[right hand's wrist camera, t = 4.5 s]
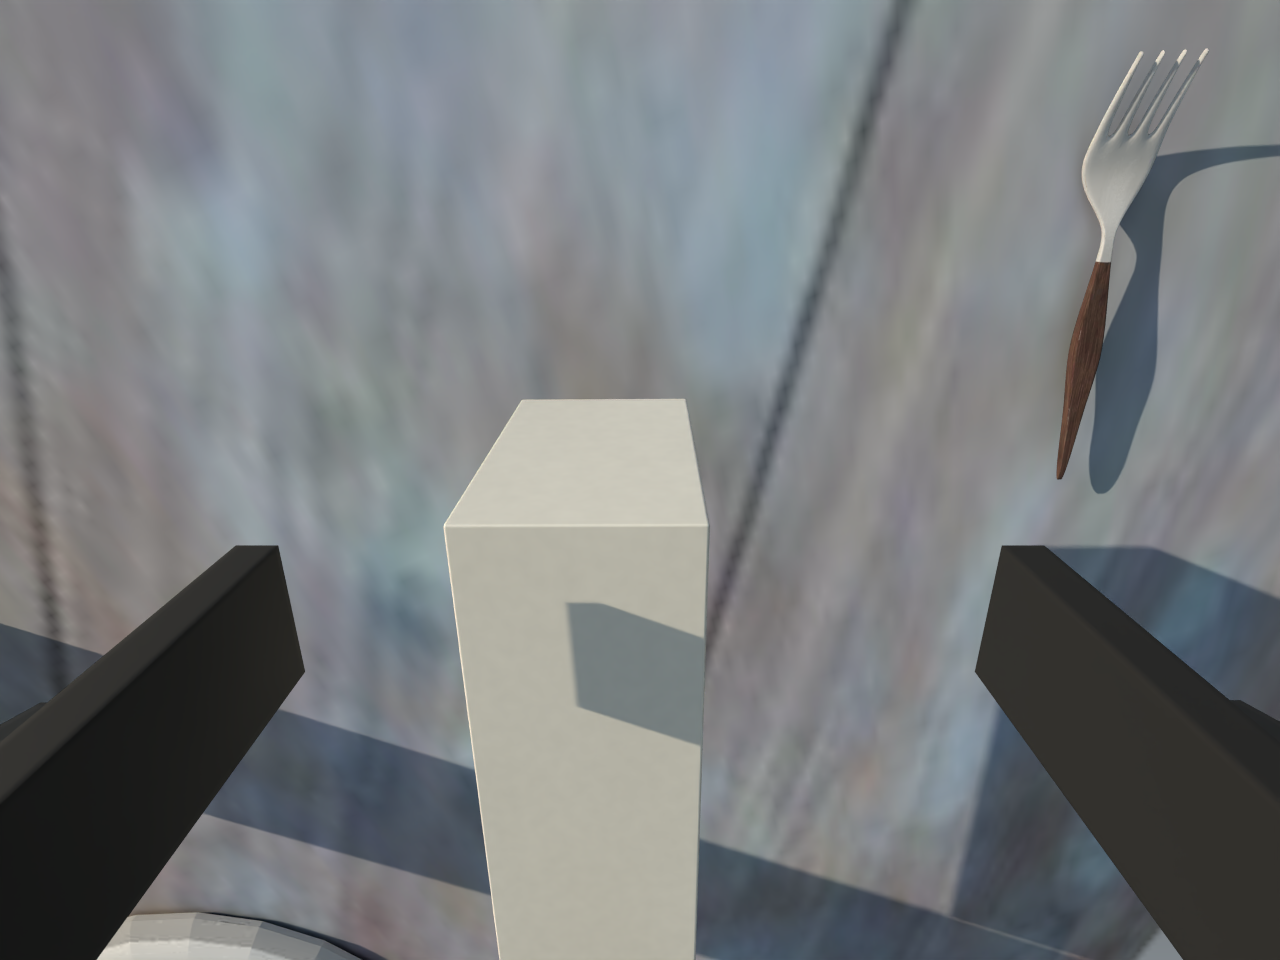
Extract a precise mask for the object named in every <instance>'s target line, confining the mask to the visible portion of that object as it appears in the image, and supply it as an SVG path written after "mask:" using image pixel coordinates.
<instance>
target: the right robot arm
mask: <svg viewBox="0 0 1280 960" xmlns="http://www.w3.org/2000/svg"><path fill="white" fill-rule="evenodd" d="M304 672H305V669H304V664H303V660H302V655H301V650H300V646H299V641H298V636H297V632H296V627H295V622H294V618H293V613H292V608H291V604H290V599H289V594H288V590H287V585H286V580H285V576H284V571H283V566H282V561H281V557H280V552H279V547H278V546H235V547H234V548H232V549H231V550H230V551H229V552H228V553H226V554H225V555H224V556H223V557H222V558H220V559H219V560H218V561H217V562H216V563H214V564H213V565H212V566H211V567H210V568H208V569H207V570H206V571H205V572H204V573H202V574H201V575H200V576H199V577H198V578H196V579H195V580H194V581H193V582H192V583H190V584H189V585H188V586H187V587H186V588H184V589H183V590H182V591H181V592H180V593H178V594H177V595H176V596H175V597H174V598H172V599H171V600H170V601H169V602H168V603H166V604H165V605H164V606H163V607H162V608H160V609H159V610H158V611H157V612H156V613H154V614H153V615H152V616H151V617H150V618H148V619H147V620H146V621H145V622H144V623H142V624H141V625H140V626H139V627H138V628H136V629H135V630H134V631H133V632H132V633H130V634H129V635H128V636H127V637H126V638H124V639H123V640H122V641H121V642H120V643H118V644H117V645H116V646H115V647H114V648H112V649H111V650H110V651H109V652H108V653H106V654H105V655H104V656H103V657H102V658H100V659H99V660H98V661H97V662H96V663H94V664H93V665H92V666H91V667H90V668H88V669H87V670H86V671H85V672H84V673H82V674H81V675H80V676H79V677H78V678H76V679H75V680H74V681H73V682H72V683H70V684H69V685H68V686H67V687H66V688H64V689H63V690H62V691H61V692H60V693H58V694H57V695H56V696H55V697H54V698H52V699H51V700H50V701H49V702H48V703H39V704H37V705H35V706H34V707H32V708H30V709H28V710H26V711H25V712H23V713H21V714H19V715H17V716H16V717H14V718H12V719H10V720H8V721H6V722H5V723H3V724H1V725H0V960H97V959H98V957H99V956H100V954H101V953H102V952H103V950H104V949H105V948H106V946H107V945H108V943H109V942H110V941H111V939H112V938H113V937H114V935H115V934H116V932H117V931H118V930H119V928H120V927H121V925H122V924H123V923H124V921H125V920H126V919H127V917H128V916H129V914H130V913H131V912H132V910H133V909H134V907H135V906H136V905H137V903H138V902H139V901H140V899H141V898H142V896H143V895H144V894H145V892H146V891H147V889H148V888H149V887H150V885H151V884H152V883H153V881H154V880H155V878H156V877H157V876H158V874H159V873H160V872H161V870H162V869H163V867H164V866H165V865H166V863H167V862H168V860H169V859H170V858H171V856H172V855H173V854H174V852H175V851H176V849H177V848H178V847H179V845H180V844H181V842H182V841H183V840H184V838H185V837H186V836H187V834H188V833H189V831H190V830H191V829H192V827H193V826H194V825H195V823H196V822H197V820H198V819H199V818H200V816H201V815H202V813H203V812H204V811H205V809H206V808H207V807H208V805H209V804H210V802H211V801H212V800H213V798H214V797H215V795H216V794H217V793H218V791H219V790H220V789H221V787H222V786H223V784H224V783H225V782H226V780H227V779H228V778H229V776H230V775H231V773H232V772H233V771H234V769H235V768H236V766H237V765H238V764H239V762H240V761H241V760H242V758H243V757H244V755H245V754H246V753H247V751H248V750H249V748H250V747H251V746H252V744H253V743H254V742H255V740H256V739H257V737H258V736H259V735H260V733H261V732H262V731H263V729H264V728H265V726H266V725H267V724H268V722H269V721H270V719H271V718H272V717H273V715H274V714H275V713H276V711H277V710H278V708H279V707H280V706H281V704H282V703H283V701H284V700H285V699H286V697H287V696H288V695H289V693H290V692H291V690H292V689H293V688H294V686H295V685H296V684H297V682H298V681H299V679H300V678H301V677H302V675H303V674H304ZM975 672H976V674H977V675H978V677H979V678H980V679H981V681H982V682H983V684H984V685H985V686H986V688H987V689H988V690H989V692H990V693H991V695H992V696H993V697H994V699H995V700H996V701H997V703H998V704H999V706H1000V707H1001V708H1002V710H1003V711H1004V713H1005V714H1006V715H1007V717H1008V718H1009V719H1010V721H1011V722H1012V724H1013V725H1014V726H1015V728H1016V729H1017V731H1018V732H1019V733H1020V735H1021V736H1022V737H1023V739H1024V740H1025V742H1026V743H1027V744H1028V746H1029V747H1030V748H1031V750H1032V751H1033V753H1034V754H1035V755H1036V757H1037V758H1038V760H1039V761H1040V762H1041V764H1042V765H1043V766H1044V768H1045V769H1046V771H1047V772H1048V773H1049V775H1050V776H1051V778H1052V779H1053V780H1054V782H1055V783H1056V784H1057V786H1058V787H1059V789H1060V790H1061V791H1062V793H1063V794H1064V795H1065V797H1066V798H1067V800H1068V801H1069V802H1070V804H1071V805H1072V807H1073V808H1074V809H1075V811H1076V812H1077V813H1078V815H1079V816H1080V818H1081V819H1082V820H1083V822H1084V823H1085V825H1086V826H1087V827H1088V829H1089V830H1090V831H1091V833H1092V834H1093V836H1094V837H1095V838H1096V840H1097V841H1098V842H1099V844H1100V845H1101V847H1102V848H1103V849H1104V851H1105V852H1106V854H1107V855H1108V856H1109V858H1110V859H1111V860H1112V862H1113V863H1114V865H1115V866H1116V867H1117V869H1118V870H1119V872H1120V873H1121V874H1122V876H1123V877H1124V878H1125V880H1126V881H1127V883H1128V884H1129V885H1130V887H1131V888H1132V890H1133V891H1134V892H1135V894H1136V895H1137V896H1138V898H1139V899H1140V901H1141V902H1142V903H1143V905H1144V906H1145V907H1146V909H1147V910H1148V912H1149V913H1150V914H1151V916H1152V917H1153V919H1154V920H1155V921H1156V923H1157V924H1158V925H1159V927H1160V928H1161V930H1162V931H1163V932H1164V934H1165V935H1166V936H1167V938H1168V939H1169V941H1170V942H1171V943H1172V945H1173V946H1174V948H1175V949H1176V950H1177V952H1178V953H1179V954H1180V956H1181V957H1182V959H1183V960H1280V722H1279V721H1277V720H1275V719H1274V718H1272V717H1270V716H1268V715H1266V714H1264V713H1263V712H1261V711H1259V710H1257V709H1255V708H1254V707H1252V706H1250V705H1248V704H1246V703H1244V702H1243V701H1241V700H1229V699H1228V698H1226V697H1225V696H1224V695H1223V694H1222V693H1220V692H1219V691H1218V690H1217V689H1216V688H1214V687H1213V686H1212V685H1211V684H1210V683H1208V682H1207V681H1206V680H1205V679H1204V678H1202V677H1201V676H1200V675H1199V674H1198V673H1196V672H1195V671H1194V670H1193V669H1192V668H1190V667H1189V666H1188V665H1187V664H1186V663H1184V662H1183V661H1182V660H1181V659H1180V658H1178V657H1177V656H1176V655H1175V654H1174V653H1172V652H1171V651H1170V650H1169V649H1168V648H1166V647H1165V646H1164V645H1163V644H1162V643H1160V642H1159V641H1158V640H1157V639H1156V638H1154V637H1153V636H1152V635H1151V634H1150V633H1148V632H1147V631H1146V630H1145V629H1144V628H1142V627H1141V626H1140V625H1139V624H1138V623H1136V622H1135V621H1134V620H1133V619H1132V618H1130V617H1129V616H1128V615H1127V614H1126V613H1124V612H1123V611H1122V610H1121V609H1120V608H1118V607H1117V606H1116V605H1115V604H1114V603H1112V602H1111V601H1110V600H1109V599H1108V598H1106V597H1105V596H1104V595H1103V594H1102V593H1100V592H1099V591H1098V590H1097V589H1096V588H1094V587H1093V586H1092V585H1091V584H1090V583H1088V582H1087V581H1086V580H1085V579H1084V578H1082V577H1081V576H1080V575H1079V574H1078V573H1076V572H1075V571H1074V570H1073V569H1072V568H1070V567H1069V566H1068V565H1067V564H1066V563H1064V562H1063V561H1062V560H1061V559H1060V558H1058V557H1057V556H1056V555H1055V554H1054V553H1052V552H1051V551H1050V550H1049V549H1048V548H1046V547H1045V546H1002V547H1001V552H1000V557H999V561H998V566H997V571H996V576H995V580H994V585H993V590H992V594H991V599H990V604H989V608H988V613H987V618H986V622H985V627H984V632H983V636H982V641H981V646H980V650H979V655H978V660H977V664H976V669H975Z"/></svg>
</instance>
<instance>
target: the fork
mask: <svg viewBox="0 0 1280 960" xmlns="http://www.w3.org/2000/svg"><path fill="white" fill-rule="evenodd" d="M1208 52H1209V49H1207V48H1206V49H1205V50H1204V51H1203V53H1202V54H1201V56H1200V58H1199V59H1198V61H1197V62H1196V64H1195V65H1194V67H1193V69H1192V70H1191V72H1190V73H1189V75H1188V76H1187V78H1186V80H1185V81H1184V83H1183V84H1182V86H1181V88H1180V89H1179V91H1178V92H1177V94H1176V96H1175V97H1174V99H1173V101H1172V102H1171V104H1170V106H1169V107H1168V109H1167V111H1166V113H1165V114H1164V116H1163V118H1162V119H1161V121H1160V123H1159V124H1158V126H1157V127H1156V129H1155V130H1154V131H1153V132H1152V133H1151V134H1148V129H1149V126H1150V124H1151V121H1152V119H1153V117H1154V115H1155V113H1156V111H1157V109H1158V106H1159V104H1160V102H1161V100H1162V98H1163V96H1164V95H1165V93H1166V91H1167V89H1168V87H1169V85H1170V83H1171V81H1172V79H1173V77H1174V75H1175V73H1176V71H1177V69H1178V67H1179V66H1180V64H1181V62H1182V60H1183V58H1184V57H1185V55H1186V53H1187V51H1186V50H1183V52H1182V53H1181V55H1180V56H1179V58H1178V59H1177V61H1176V63H1175V64H1174V66H1173V67H1172V69H1171V71H1170V72H1169V74H1168V76H1167V77H1166V79H1165V81H1164V82H1163V84H1162V86H1161V87H1160V89H1159V91H1158V92H1157V94H1156V96H1155V97H1154V99H1153V101H1152V102H1151V104H1150V106H1149V108H1148V109H1147V111H1146V113H1145V115H1144V117H1143V118H1142V120H1141V122H1140V123H1139V125H1138V127H1137V128H1136V130H1135V131H1134V132H1133V133H1132V134H1131V135H1128V130H1129V127H1130V124H1131V122H1132V119H1133V117H1134V115H1135V113H1136V111H1137V109H1138V106H1139V104H1140V102H1141V100H1142V98H1143V96H1144V94H1145V92H1146V90H1147V88H1148V86H1149V84H1150V82H1151V80H1152V78H1153V76H1154V74H1155V72H1156V70H1157V68H1158V66H1159V64H1160V62H1161V60H1162V58H1163V56H1164V54H1165V51H1164V50H1163V51H1162V52H1161V53H1160V55H1159V56H1158V58H1157V60H1156V61H1155V63H1154V65H1153V66H1152V68H1151V70H1150V71H1149V73H1148V75H1147V76H1146V78H1145V80H1144V82H1143V83H1142V85H1141V87H1140V88H1139V90H1138V92H1137V94H1136V95H1135V97H1134V99H1133V101H1132V103H1131V104H1130V106H1129V108H1128V110H1127V112H1126V113H1125V115H1124V117H1123V119H1122V121H1121V123H1120V124H1119V126H1118V128H1117V129H1116V131H1115V132H1114V133H1113V134H1112V135H1111V136H1109V135H1108V131H1109V128H1110V125H1111V122H1112V120H1113V118H1114V115H1115V113H1116V111H1117V109H1118V106H1119V104H1120V102H1121V100H1122V98H1123V95H1124V93H1125V91H1126V89H1127V87H1128V85H1129V83H1130V80H1131V78H1132V76H1133V74H1134V72H1135V70H1136V68H1137V66H1138V64H1139V62H1140V60H1141V58H1142V57H1143V55H1144V52H1142V51H1141V52H1140V53H1139V54H1138V56H1137V58H1136V60H1135V61H1134V63H1133V65H1132V67H1131V68H1130V70H1129V72H1128V74H1127V76H1126V77H1125V79H1124V81H1123V83H1122V84H1121V86H1120V88H1119V90H1118V92H1117V94H1116V95H1115V97H1114V99H1113V101H1112V103H1111V105H1110V106H1109V108H1108V110H1107V112H1106V114H1105V116H1104V118H1103V120H1102V122H1101V124H1100V126H1099V128H1098V130H1097V132H1096V134H1095V136H1094V138H1093V140H1092V142H1091V144H1090V146H1089V148H1088V151H1087V153H1086V156H1085V158H1084V162H1083V167H1082V182H1083V186H1084V190H1085V193H1086V195H1087V197H1088V200H1089V202H1090V204H1091V206H1092V207H1093V209H1094V211H1095V213H1096V215H1097V218H1098V220H1099V222H1100V226H1101V230H1102V239H1101V245H1100V249H1099V252H1098V256H1097V259H1096V262H1095V266H1094V269H1093V272H1092V275H1091V278H1090V281H1089V284H1088V287H1087V290H1086V293H1085V297H1084V300H1083V303H1082V306H1081V309H1080V312H1079V315H1078V319H1077V322H1076V325H1075V328H1074V332H1073V336H1072V339H1071V344H1070V349H1069V354H1068V361H1067V370H1066V382H1065V395H1064V407H1063V417H1062V425H1061V433H1060V441H1059V450H1058V460H1057V479H1062V477H1063V475H1064V473H1065V470H1066V467H1067V464H1068V461H1069V458H1070V455H1071V452H1072V449H1073V445H1074V442H1075V439H1076V435H1077V432H1078V428H1079V425H1080V422H1081V418H1082V415H1083V412H1084V409H1085V405H1086V402H1087V399H1088V396H1089V393H1090V390H1091V387H1092V384H1093V381H1094V377H1095V374H1096V371H1097V367H1098V364H1099V360H1100V356H1101V351H1102V345H1103V339H1104V331H1105V322H1106V311H1107V300H1108V289H1109V277H1110V267H1111V257H1112V249H1113V243H1114V238H1115V234H1116V231H1117V229H1118V226H1119V224H1120V222H1121V220H1122V218H1123V216H1124V215H1125V213H1126V211H1127V210H1128V208H1129V206H1130V205H1131V203H1132V202H1133V200H1134V198H1135V197H1136V195H1137V194H1138V192H1139V190H1140V189H1141V187H1142V185H1143V183H1144V182H1145V180H1146V178H1147V176H1148V174H1149V172H1150V170H1151V168H1152V166H1153V163H1154V161H1155V159H1156V156H1157V154H1158V151H1159V149H1160V146H1161V143H1162V141H1163V138H1164V136H1165V133H1166V131H1167V129H1168V126H1169V124H1170V122H1171V120H1172V118H1173V116H1174V114H1175V112H1176V110H1177V108H1178V106H1179V105H1180V103H1181V101H1182V99H1183V97H1184V95H1185V93H1186V91H1187V89H1188V87H1189V86H1190V84H1191V82H1192V80H1193V78H1194V76H1195V74H1196V73H1197V71H1198V69H1199V67H1200V65H1201V64H1202V62H1203V60H1204V59H1205V57H1206V55H1207V54H1208Z"/></svg>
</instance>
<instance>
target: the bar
mask: <svg viewBox="0 0 1280 960" xmlns="http://www.w3.org/2000/svg"><path fill="white" fill-rule="evenodd" d="M444 533H445V541H446V549H447V557H448V564H449V572H450V580H451V588H452V595H453V603H454V611H455V619H456V626H457V634H458V642H459V649H460V657H461V665H462V673H463V680H464V688H465V696H466V704H467V711H468V719H469V727H470V734H471V742H472V750H473V758H474V765H475V773H476V781H477V789H478V796H479V804H480V812H481V819H482V827H483V835H484V843H485V850H486V858H487V866H488V874H489V881H490V889H491V897H492V904H493V912H494V920H495V928H496V935H497V943H498V951H499V959H500V960H695V959H696V928H697V898H698V868H699V837H700V807H701V776H702V746H703V716H704V685H705V655H706V624H707V594H708V564H709V533H710V525H709V519H708V514H707V508H706V503H705V498H704V492H703V487H702V482H701V476H700V471H699V465H698V460H697V455H696V449H695V444H694V439H693V433H692V428H691V422H690V417H689V412H688V406H687V401H686V399H580V400H522V401H521V402H520V404H519V406H518V407H517V409H516V410H515V412H514V414H513V415H512V417H511V418H510V420H509V422H508V423H507V425H506V426H505V428H504V430H503V431H502V433H501V434H500V436H499V438H498V439H497V441H496V442H495V444H494V446H493V447H492V449H491V450H490V452H489V454H488V455H487V457H486V459H485V460H484V462H483V463H482V465H481V467H480V468H479V470H478V471H477V473H476V475H475V476H474V478H473V479H472V481H471V483H470V484H469V486H468V487H467V489H466V491H465V492H464V494H463V495H462V497H461V499H460V500H459V502H458V503H457V505H456V507H455V508H454V510H453V511H452V513H451V515H450V516H449V518H448V520H447V521H446V523H445V524H444Z"/></svg>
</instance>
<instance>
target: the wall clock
mask: <svg viewBox="0 0 1280 960" xmlns="http://www.w3.org/2000/svg"><path fill="white" fill-rule="evenodd" d="M97 960H361V959H359V958H358V957H356V956H354V955H352V954H350V953H348V952H346V951H344V950H342V949H340V948H338V947H336V946H334V945H332V944H330V943H328V942H326V941H325V940H321V939H318V938H315V937H312V936H309V935H305V934H302V933H299V932H296V931H292V930H289V929H286V928H283V927H280V926H276V925H273V924H270V923H267V922H263V921H257V920H250V919H243V918H235V917H228V916H221V915H213V914H206V913H198V912H195V913H171V914H148V915H134V916H130V917H127V919H126V920H125V921H124V923H123V924H122V925H121V927H120V928H119V930H118V931H117V932H116V934H115V935H114V937H113V938H112V939H111V941H110V942H109V943H108V945H107V946H106V948H105V949H104V950H103V952H102V953H101V954H100V956H99V957H98V959H97Z"/></svg>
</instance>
